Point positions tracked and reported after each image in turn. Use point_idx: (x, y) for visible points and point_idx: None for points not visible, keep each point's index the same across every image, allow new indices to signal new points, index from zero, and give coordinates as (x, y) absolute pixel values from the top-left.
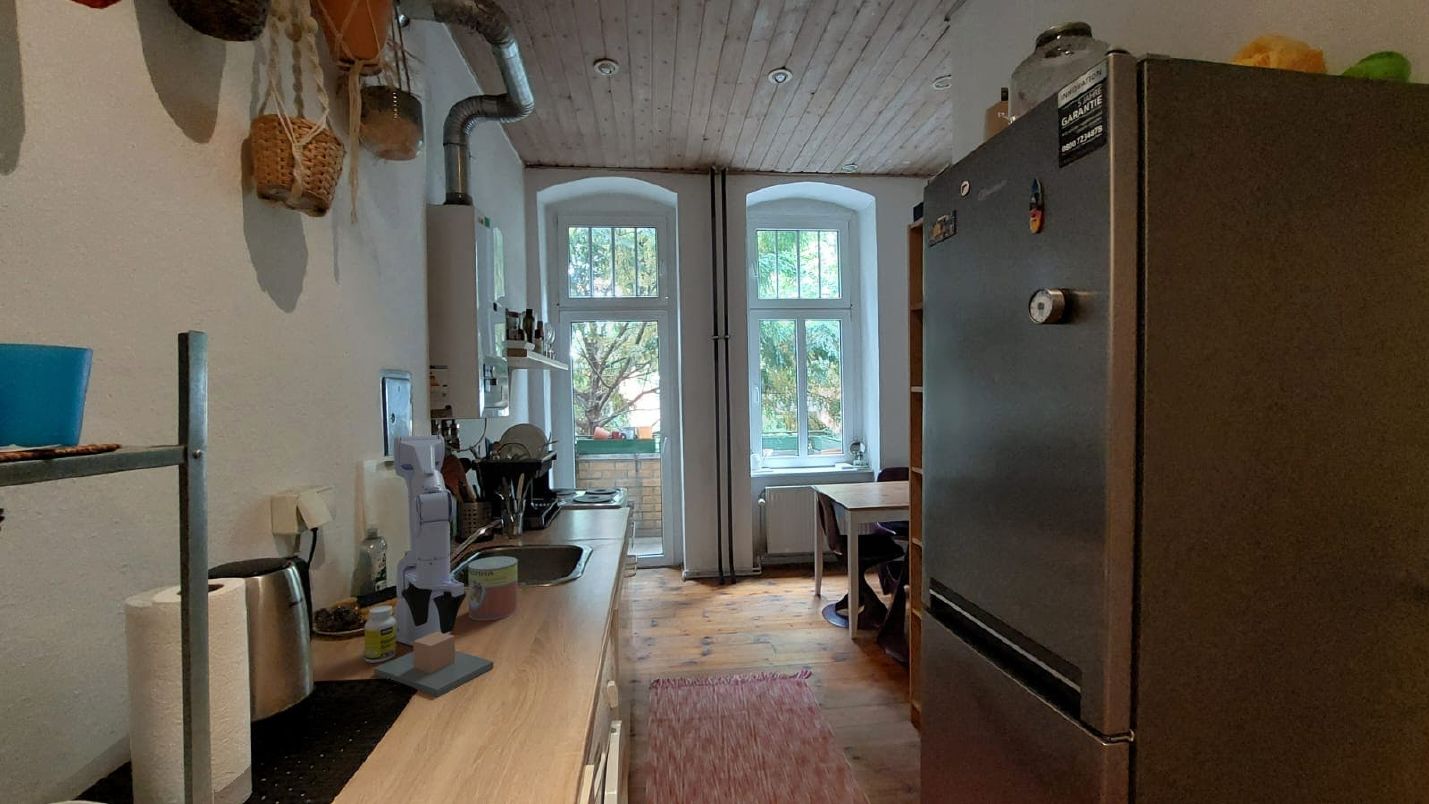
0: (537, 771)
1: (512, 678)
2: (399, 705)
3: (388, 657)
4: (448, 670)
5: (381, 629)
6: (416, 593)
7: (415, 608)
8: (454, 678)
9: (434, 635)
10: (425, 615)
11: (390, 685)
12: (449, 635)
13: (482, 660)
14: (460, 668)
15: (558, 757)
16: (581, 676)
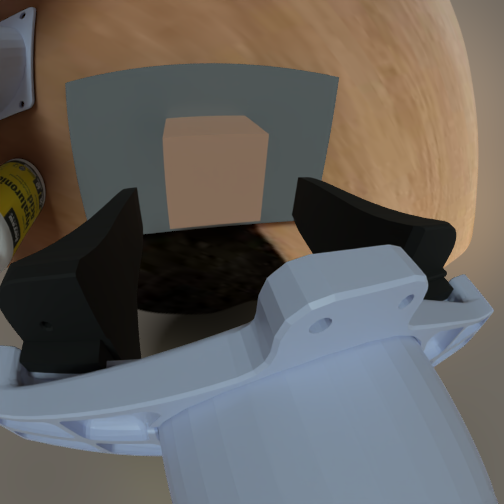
0: (456, 244)
1: (390, 106)
2: (266, 257)
3: (42, 186)
4: (269, 155)
5: (12, 248)
6: (129, 351)
7: (133, 287)
8: (312, 175)
9: (190, 166)
10: (131, 209)
11: (176, 233)
12: (245, 139)
13: (309, 80)
14: (288, 134)
15: (466, 226)
16: (464, 79)
